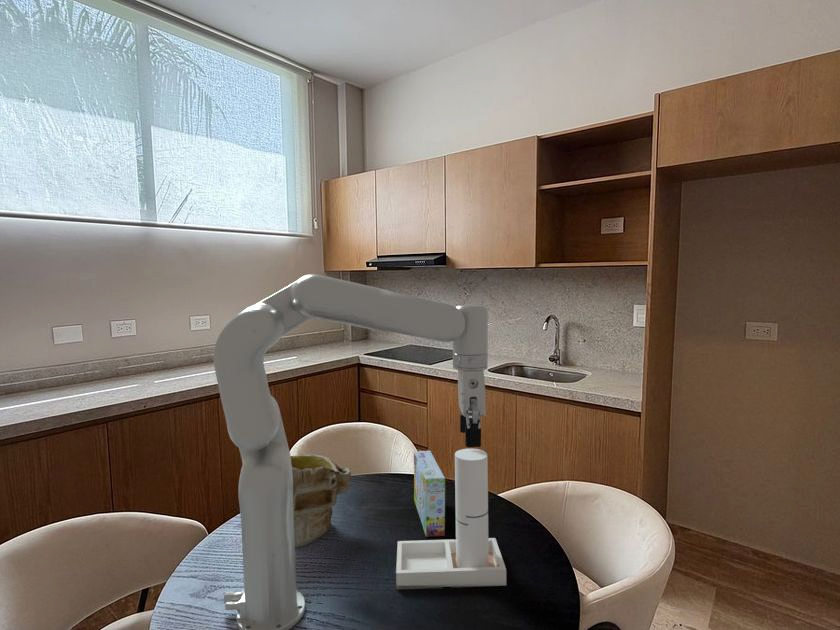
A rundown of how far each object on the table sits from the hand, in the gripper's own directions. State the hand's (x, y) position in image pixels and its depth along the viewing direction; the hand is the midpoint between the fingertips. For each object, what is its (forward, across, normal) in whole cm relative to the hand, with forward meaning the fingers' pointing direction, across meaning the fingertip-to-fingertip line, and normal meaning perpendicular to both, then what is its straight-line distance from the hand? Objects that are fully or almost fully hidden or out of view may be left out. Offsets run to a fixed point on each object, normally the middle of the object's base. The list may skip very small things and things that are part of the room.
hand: (470, 439), depth 98 cm
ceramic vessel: (+30, +18, +40) cm, 53 cm away
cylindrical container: (+29, 0, -1) cm, 29 cm away
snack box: (+30, +24, +8) cm, 39 cm away
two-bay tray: (+30, 0, +5) cm, 30 cm away
